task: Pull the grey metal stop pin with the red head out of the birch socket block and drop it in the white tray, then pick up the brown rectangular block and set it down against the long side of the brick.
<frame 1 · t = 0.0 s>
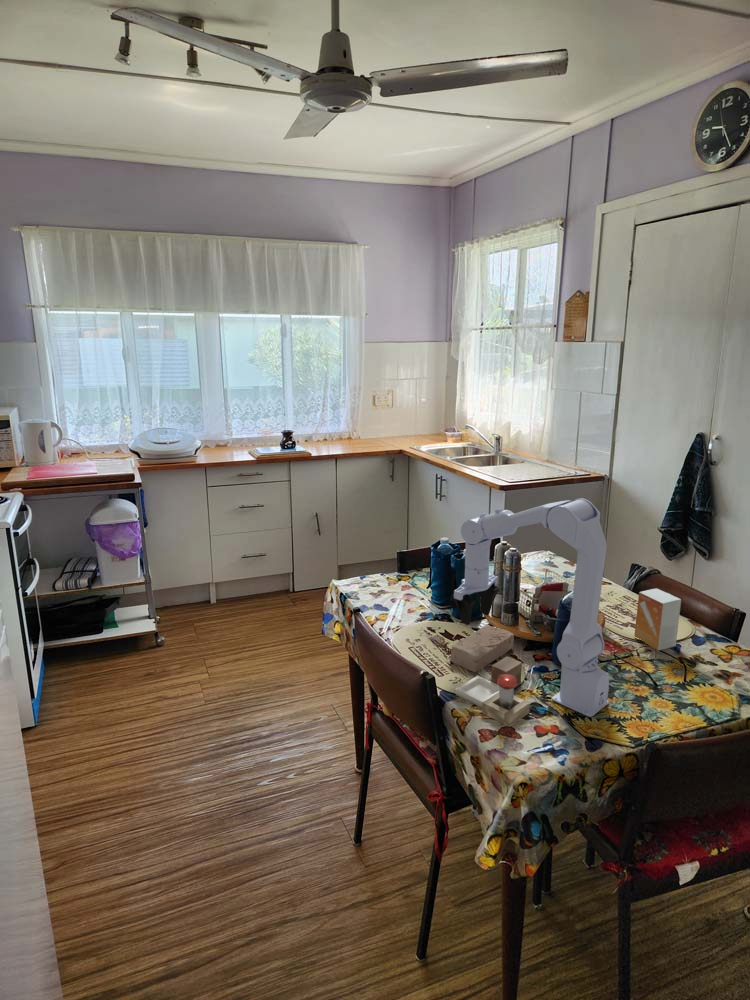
hand: (475, 618, 157), 10 cm above the table, tool pointing down, fingers open, 7 cm apart
socket block: (505, 713, 135), on the table
pin: (506, 696, 134), in the socket block
brick: (482, 656, 160), on the table
small box: (654, 642, 166), on the table
brown rectangular block: (505, 683, 147), on the table
tray: (480, 694, 142), on the table
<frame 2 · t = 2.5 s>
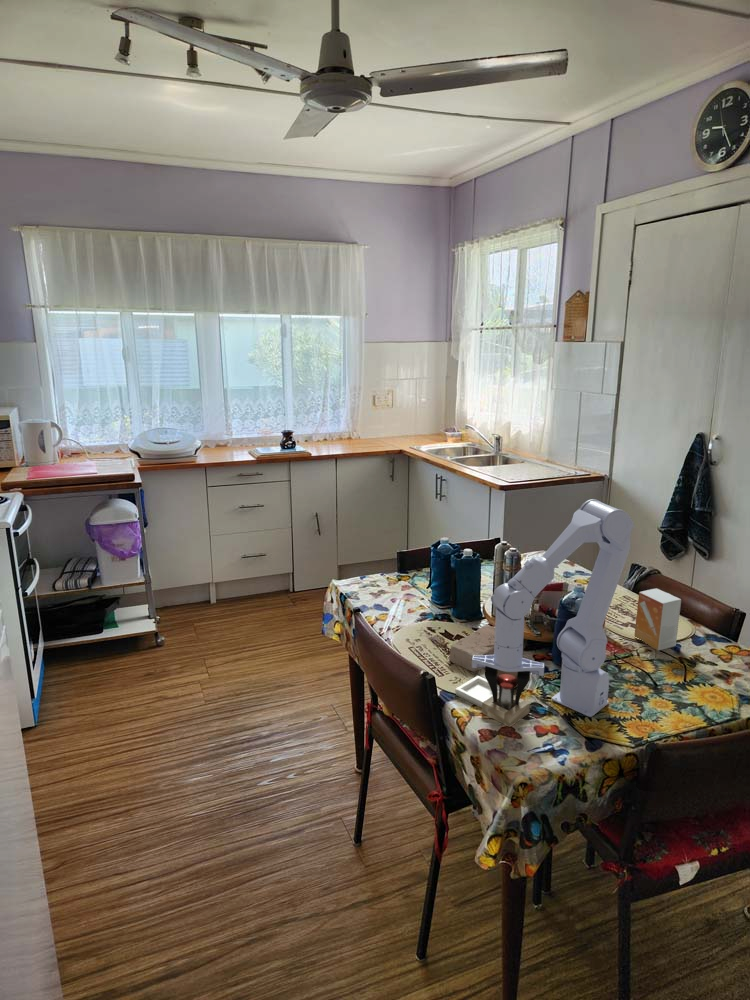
hand: (506, 700, 135), 3 cm above the table, tool pointing down, fingers closed on pin, 4 cm apart
pin: (506, 696, 134), in the socket block, touching gripper
everything else where it was.
when the fingers open (5 cm above the table, at t = 5.5 s): pin stays where it is, resting on tray.
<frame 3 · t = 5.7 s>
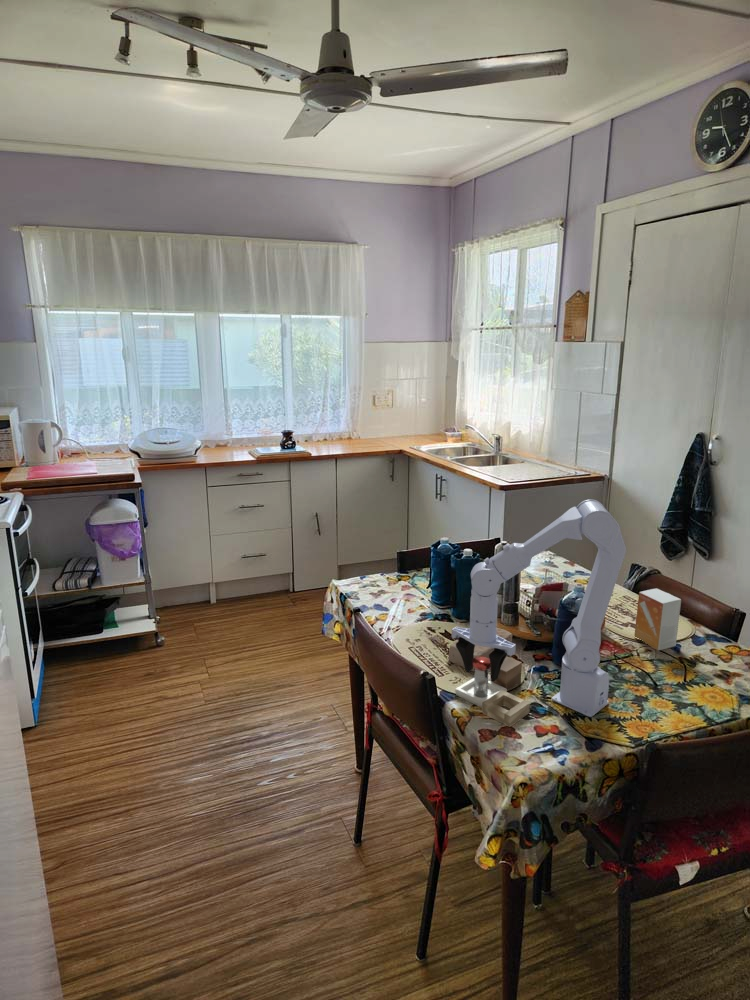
hand: (481, 674, 141), 5 cm above the table, tool pointing down, fingers open, 6 cm apart
pin: (481, 677, 141), in the tray
everything else where it was.
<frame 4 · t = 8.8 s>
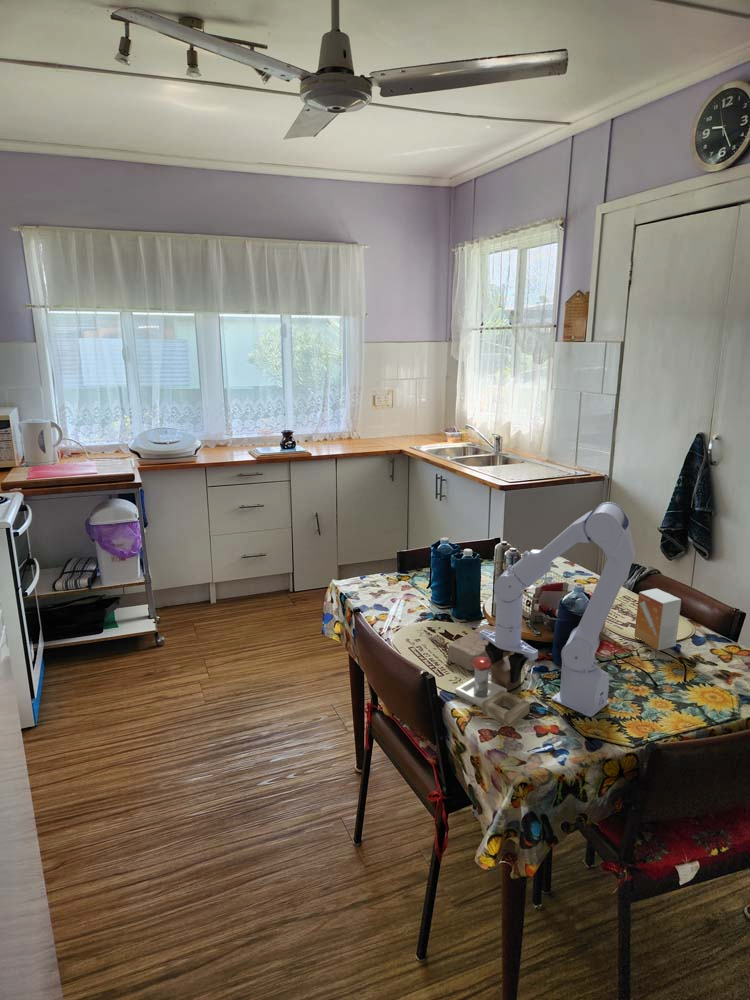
hand: (506, 677, 146), 1 cm above the table, tool pointing down, fingers closed on brown rectangular block, 4 cm apart
brown rectangular block: (505, 683, 147), on the table, touching gripper
everything else where it was.
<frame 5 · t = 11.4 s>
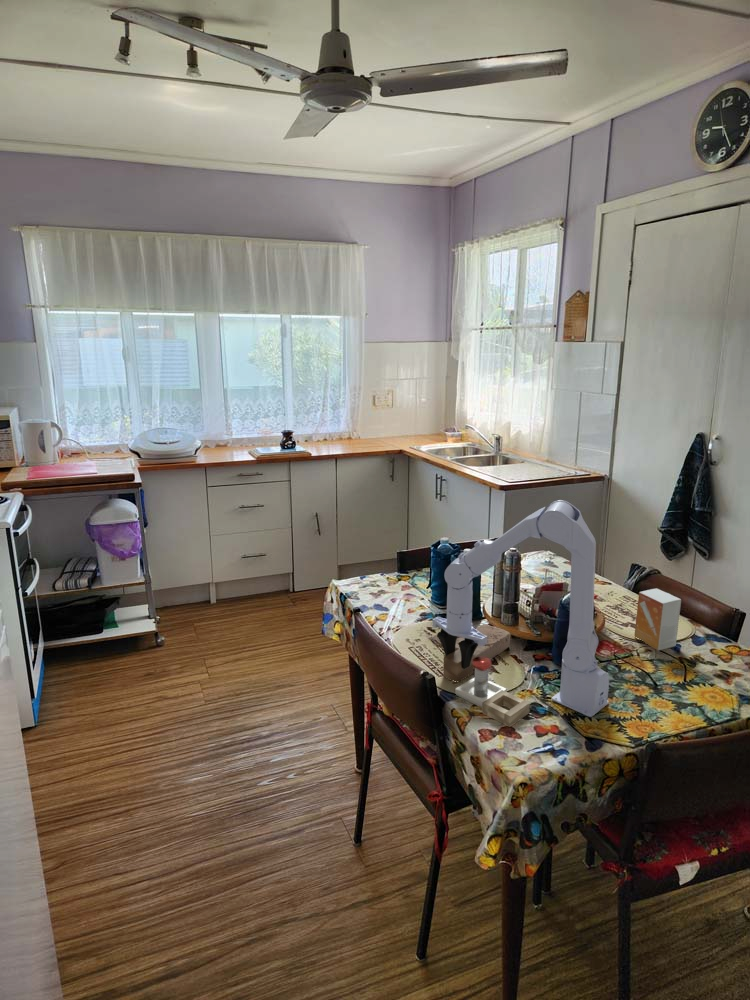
hand: (458, 663, 150), 3 cm above the table, tool pointing down, fingers closed on brown rectangular block, 4 cm apart
brown rectangular block: (458, 675, 151), on the table, touching gripper
when the fingers open (3 cm above the table, at t = 11.8 s): brown rectangular block stays where it is, on the table.
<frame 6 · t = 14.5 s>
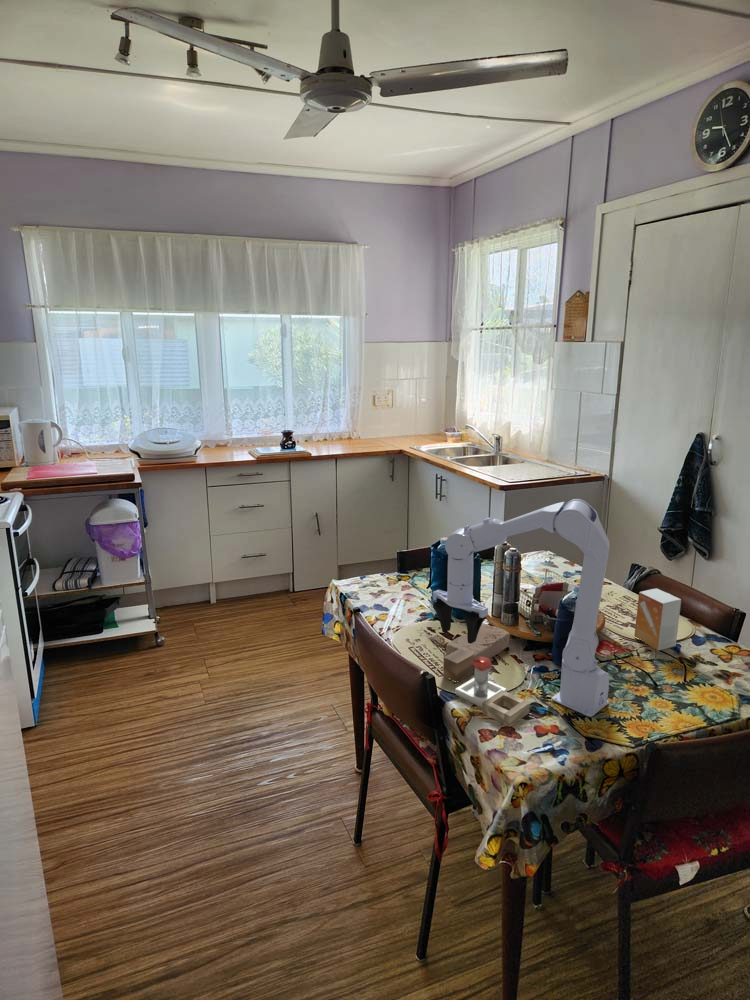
hand: (458, 636, 148), 10 cm above the table, tool pointing down, fingers open, 7 cm apart
brown rectangular block: (458, 675, 151), on the table
at the end: pin 0.4 cm off-centre on the tray, point 4.5 cm above the tray's base; brown rectangular block 0.2 cm from the target spot, on the table; brick moved 1.5 cm from its start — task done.
